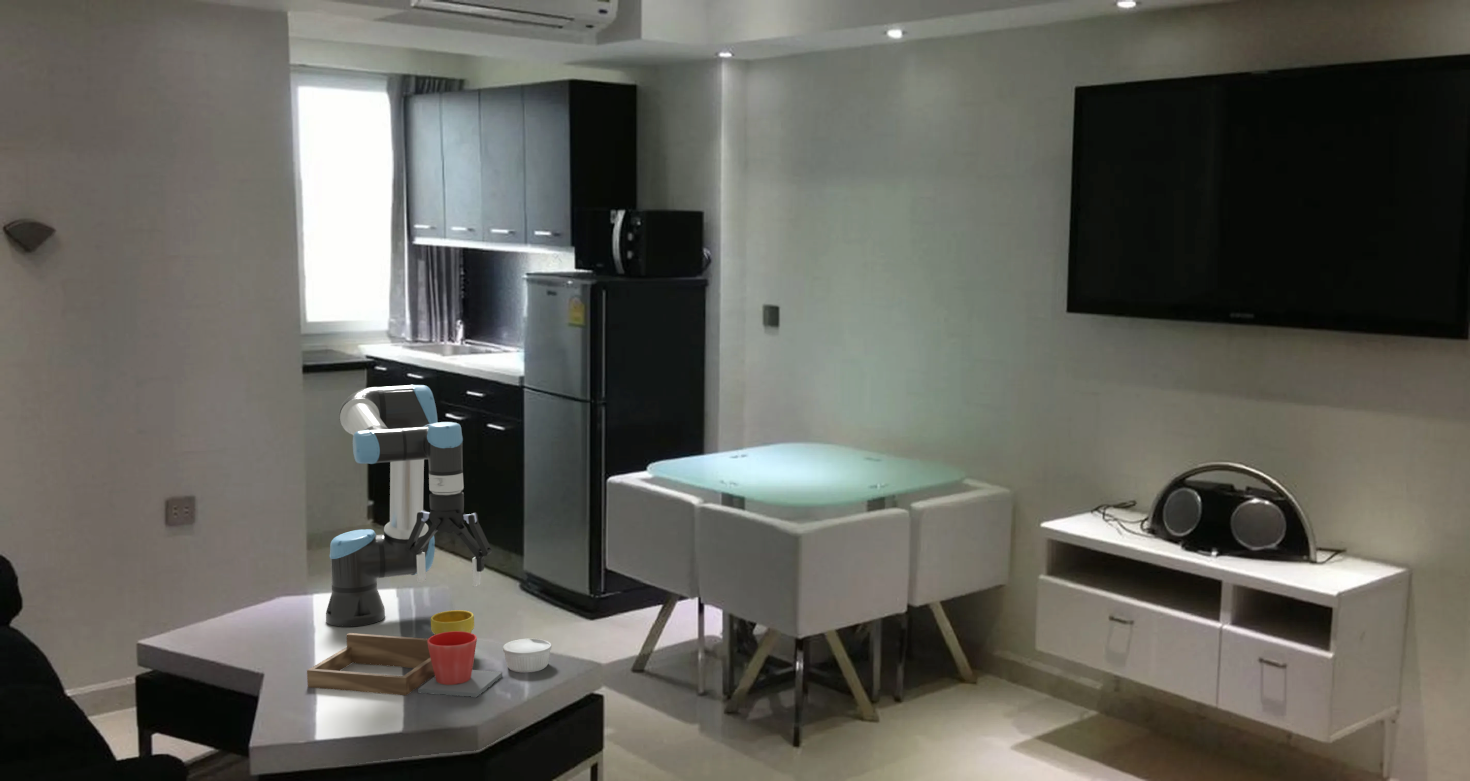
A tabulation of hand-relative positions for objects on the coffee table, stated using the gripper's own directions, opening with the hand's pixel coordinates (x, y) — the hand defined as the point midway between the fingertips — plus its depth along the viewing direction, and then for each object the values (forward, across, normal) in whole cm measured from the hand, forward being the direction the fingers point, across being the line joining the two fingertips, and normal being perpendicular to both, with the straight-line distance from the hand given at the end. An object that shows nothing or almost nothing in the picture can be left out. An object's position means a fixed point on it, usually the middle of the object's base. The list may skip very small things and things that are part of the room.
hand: (449, 583), depth 287 cm
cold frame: (+23, -18, -2) cm, 29 cm away
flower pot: (+22, +1, -2) cm, 22 cm away
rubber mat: (+23, +3, -2) cm, 23 cm away
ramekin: (+23, +13, +13) cm, 30 cm away
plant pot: (+23, -8, +17) cm, 30 cm away
